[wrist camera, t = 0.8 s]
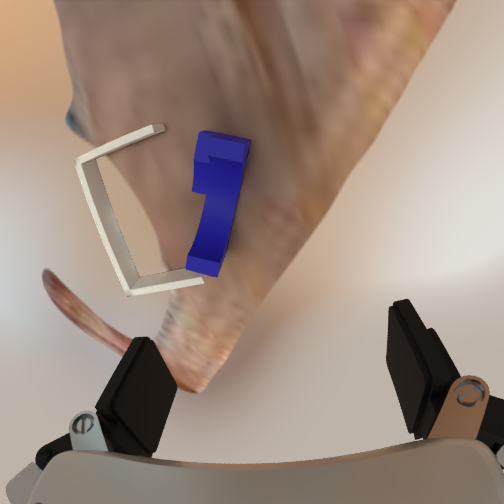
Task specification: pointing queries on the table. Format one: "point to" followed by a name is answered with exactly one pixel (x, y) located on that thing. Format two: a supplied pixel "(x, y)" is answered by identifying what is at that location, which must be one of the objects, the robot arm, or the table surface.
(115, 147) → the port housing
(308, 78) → the table surface
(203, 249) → the cable clip
